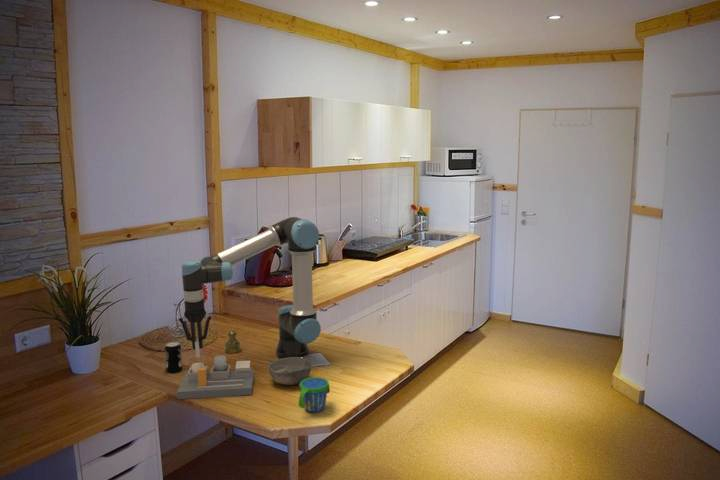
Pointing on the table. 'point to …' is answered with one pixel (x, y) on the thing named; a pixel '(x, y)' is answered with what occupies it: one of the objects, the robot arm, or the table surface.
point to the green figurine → (232, 343)
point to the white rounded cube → (196, 367)
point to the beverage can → (173, 357)
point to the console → (217, 384)
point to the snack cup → (313, 393)
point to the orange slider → (202, 376)
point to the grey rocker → (242, 366)
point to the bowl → (290, 370)
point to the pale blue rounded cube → (220, 363)
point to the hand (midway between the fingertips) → (198, 356)
